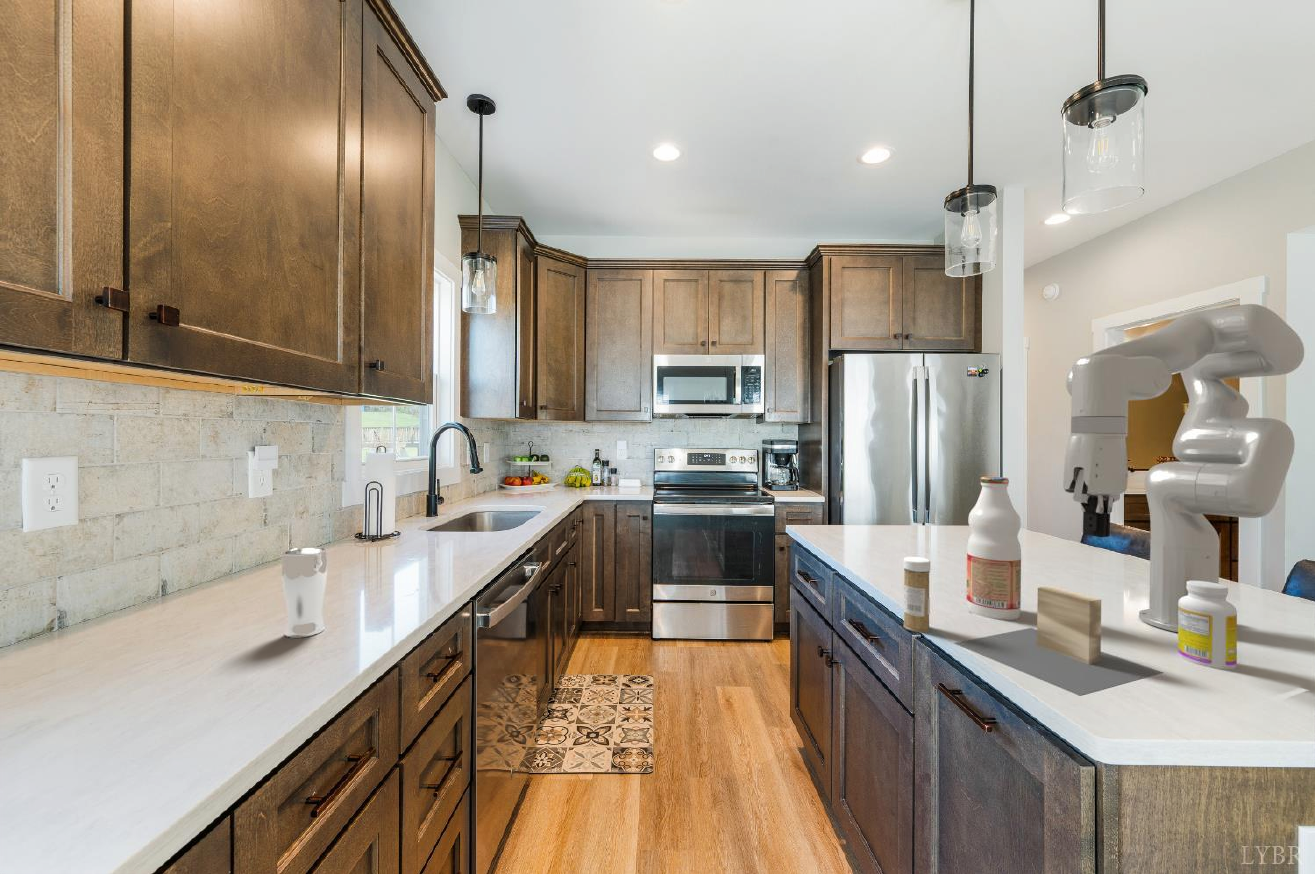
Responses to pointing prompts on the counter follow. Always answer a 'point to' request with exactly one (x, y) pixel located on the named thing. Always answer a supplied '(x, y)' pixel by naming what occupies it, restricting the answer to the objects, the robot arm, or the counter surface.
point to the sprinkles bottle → (916, 594)
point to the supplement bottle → (1207, 626)
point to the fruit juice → (994, 554)
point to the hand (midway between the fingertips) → (1096, 535)
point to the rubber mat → (1056, 663)
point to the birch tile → (1069, 624)
